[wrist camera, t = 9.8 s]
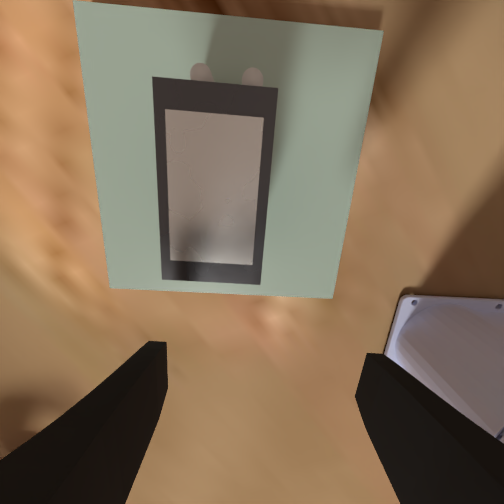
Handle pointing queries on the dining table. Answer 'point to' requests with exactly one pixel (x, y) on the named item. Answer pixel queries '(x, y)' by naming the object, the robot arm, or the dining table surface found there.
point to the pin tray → (285, 135)
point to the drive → (213, 178)
